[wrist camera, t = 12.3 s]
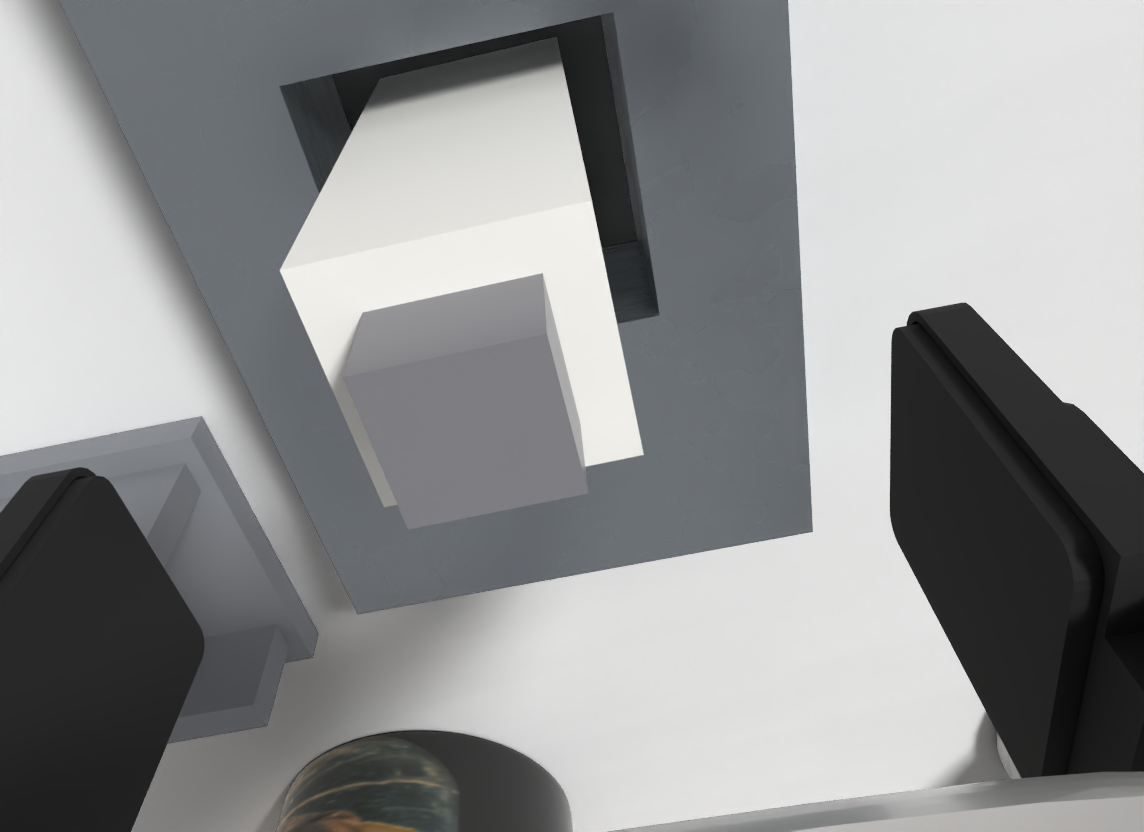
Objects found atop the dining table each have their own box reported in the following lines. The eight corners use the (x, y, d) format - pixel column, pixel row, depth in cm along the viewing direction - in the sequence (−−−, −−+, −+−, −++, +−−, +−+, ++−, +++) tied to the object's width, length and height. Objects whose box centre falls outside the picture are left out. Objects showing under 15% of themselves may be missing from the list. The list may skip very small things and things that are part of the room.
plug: (592, 208, 21) (658, 527, 11) (433, 244, 21) (369, 583, 12) (556, 36, 19) (602, 254, 9) (379, 78, 19) (247, 331, 10)
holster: (318, 634, 29) (293, 738, 25) (118, 670, 29) (68, 777, 26) (201, 416, 24) (152, 511, 20) (-38, 463, 24) (-124, 564, 21)
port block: (773, 439, 25) (817, 542, 22) (377, 514, 26) (355, 625, 22) (700, -531, 14) (766, -655, 10) (7, -351, 15) (-158, -410, 11)
